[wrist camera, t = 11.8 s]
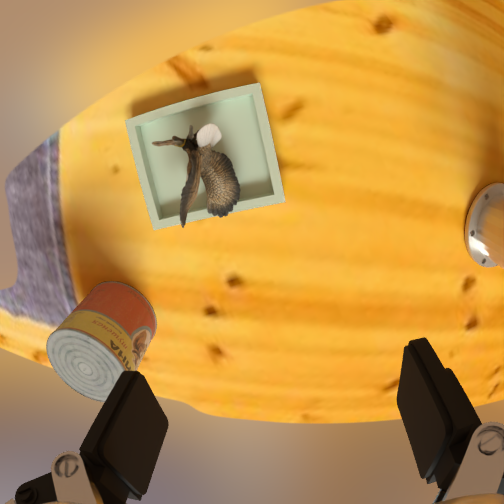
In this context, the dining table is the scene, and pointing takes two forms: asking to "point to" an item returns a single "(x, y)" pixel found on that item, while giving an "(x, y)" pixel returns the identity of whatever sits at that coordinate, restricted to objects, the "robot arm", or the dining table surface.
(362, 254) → the dining table surface
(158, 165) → the tray
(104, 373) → the canned food
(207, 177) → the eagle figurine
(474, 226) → the robot arm
